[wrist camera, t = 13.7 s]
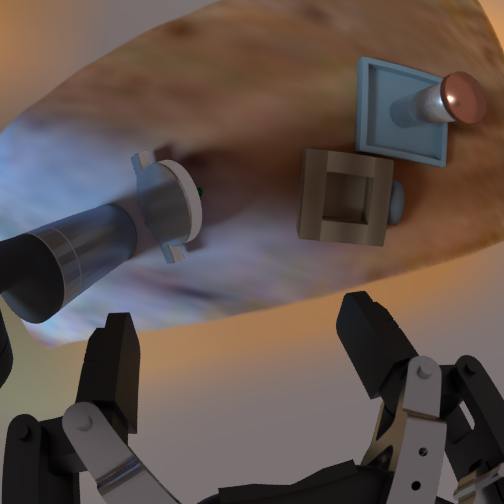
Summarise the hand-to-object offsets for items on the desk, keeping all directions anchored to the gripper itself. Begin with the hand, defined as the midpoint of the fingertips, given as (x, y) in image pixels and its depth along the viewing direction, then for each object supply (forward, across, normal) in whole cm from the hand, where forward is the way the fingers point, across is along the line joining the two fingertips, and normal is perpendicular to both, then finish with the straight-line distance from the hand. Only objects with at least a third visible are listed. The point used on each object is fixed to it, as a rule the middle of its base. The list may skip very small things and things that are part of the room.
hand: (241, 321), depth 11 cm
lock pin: (+25, -25, -7) cm, 36 cm away
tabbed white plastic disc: (+31, +4, +7) cm, 32 cm away
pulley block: (+24, -18, +5) cm, 31 cm away
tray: (+25, -25, -7) cm, 36 cm away
